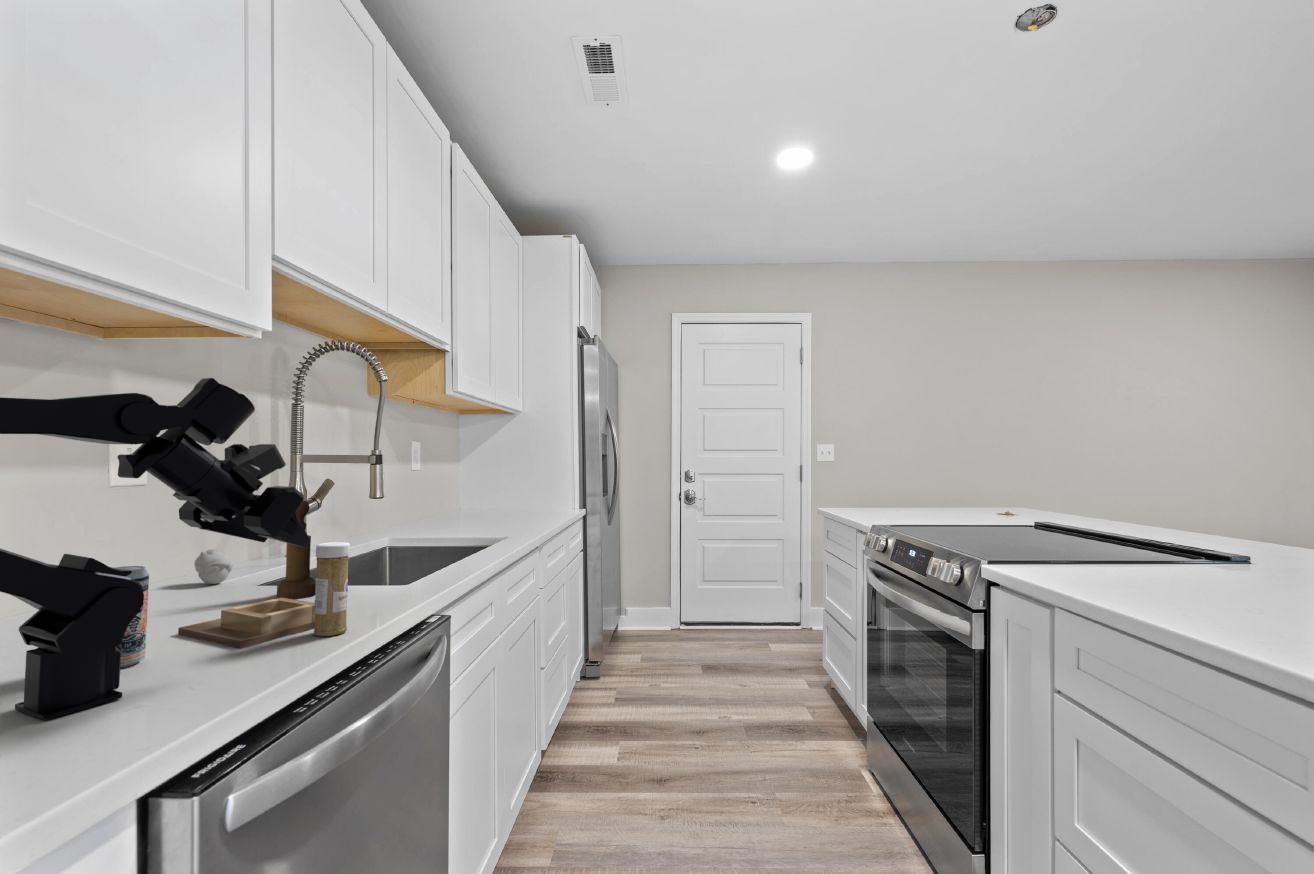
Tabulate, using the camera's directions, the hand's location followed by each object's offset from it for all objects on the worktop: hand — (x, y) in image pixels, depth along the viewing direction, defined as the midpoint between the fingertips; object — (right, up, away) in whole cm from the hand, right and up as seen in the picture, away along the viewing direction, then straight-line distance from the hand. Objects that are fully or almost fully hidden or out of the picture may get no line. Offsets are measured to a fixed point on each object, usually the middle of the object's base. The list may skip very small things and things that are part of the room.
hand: (286, 541), depth 85 cm
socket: (-9, -15, +8) cm, 19 cm away
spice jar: (+3, -15, +6) cm, 16 cm away
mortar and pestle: (-16, -15, +30) cm, 37 cm away
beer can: (-16, -14, -9) cm, 23 cm away
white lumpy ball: (-39, -15, +38) cm, 56 cm away
